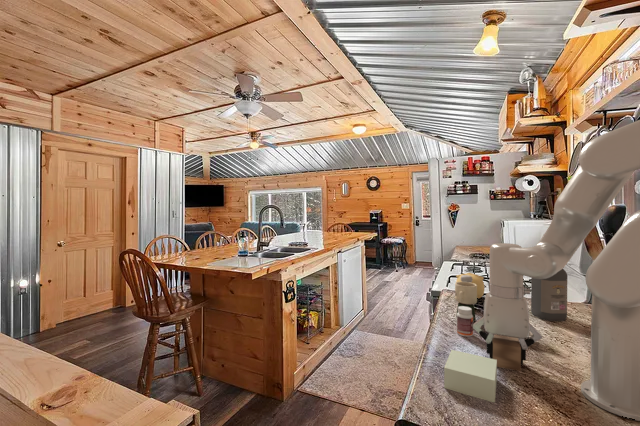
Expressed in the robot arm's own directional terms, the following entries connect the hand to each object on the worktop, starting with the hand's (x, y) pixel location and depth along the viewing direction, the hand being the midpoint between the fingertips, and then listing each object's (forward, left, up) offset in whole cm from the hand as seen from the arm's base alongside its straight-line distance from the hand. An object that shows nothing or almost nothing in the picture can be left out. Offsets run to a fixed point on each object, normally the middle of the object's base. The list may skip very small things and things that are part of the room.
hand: (505, 358), depth 80 cm
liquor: (-17, -44, -1) cm, 47 cm away
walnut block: (0, 0, -1) cm, 1 cm away
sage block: (+8, +14, -1) cm, 16 cm away
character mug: (+10, -28, -1) cm, 30 cm away
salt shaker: (+10, -42, -1) cm, 43 cm away
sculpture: (+9, -58, -1) cm, 59 cm away
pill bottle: (+10, -15, -1) cm, 18 cm away
